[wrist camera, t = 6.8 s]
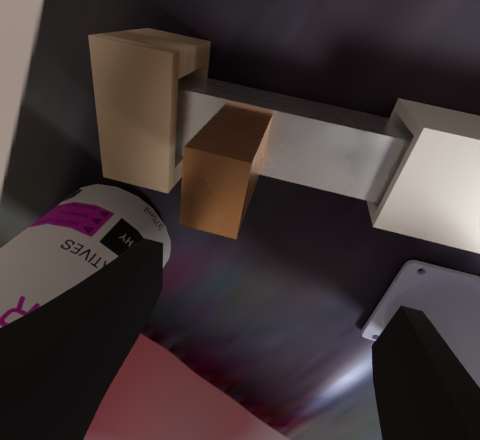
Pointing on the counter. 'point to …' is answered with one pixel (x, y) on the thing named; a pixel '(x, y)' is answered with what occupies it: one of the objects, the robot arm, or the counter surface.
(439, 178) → the white rectangular block
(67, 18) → the counter surface
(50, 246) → the supplement can
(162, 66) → the oak socket
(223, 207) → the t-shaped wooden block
